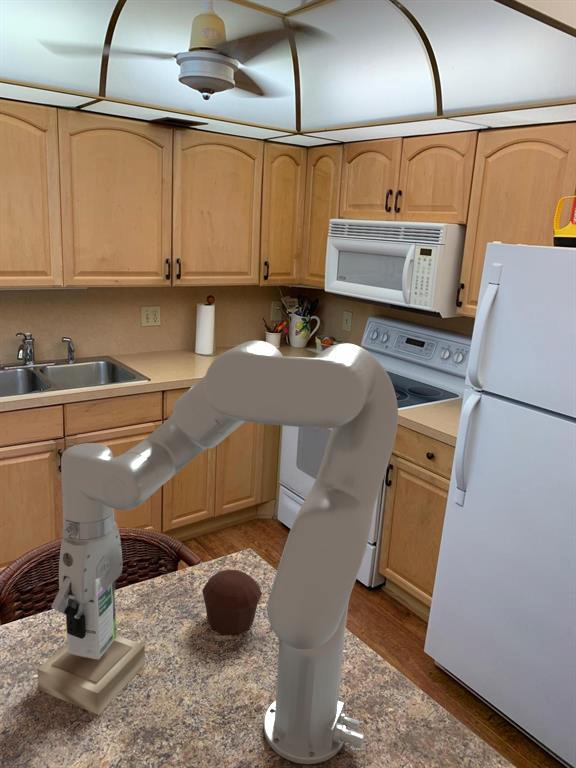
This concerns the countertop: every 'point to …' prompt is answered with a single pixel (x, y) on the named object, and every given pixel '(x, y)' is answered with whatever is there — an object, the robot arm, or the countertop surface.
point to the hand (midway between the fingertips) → (91, 621)
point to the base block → (91, 674)
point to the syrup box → (96, 624)
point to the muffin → (231, 602)
